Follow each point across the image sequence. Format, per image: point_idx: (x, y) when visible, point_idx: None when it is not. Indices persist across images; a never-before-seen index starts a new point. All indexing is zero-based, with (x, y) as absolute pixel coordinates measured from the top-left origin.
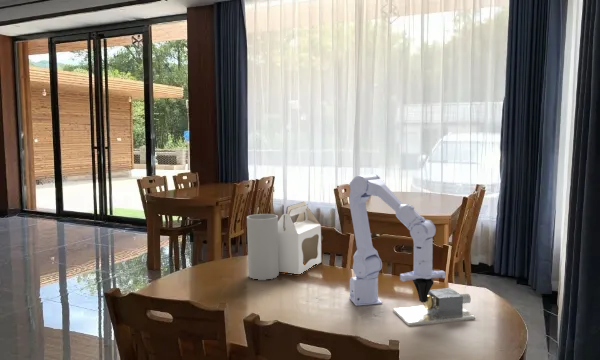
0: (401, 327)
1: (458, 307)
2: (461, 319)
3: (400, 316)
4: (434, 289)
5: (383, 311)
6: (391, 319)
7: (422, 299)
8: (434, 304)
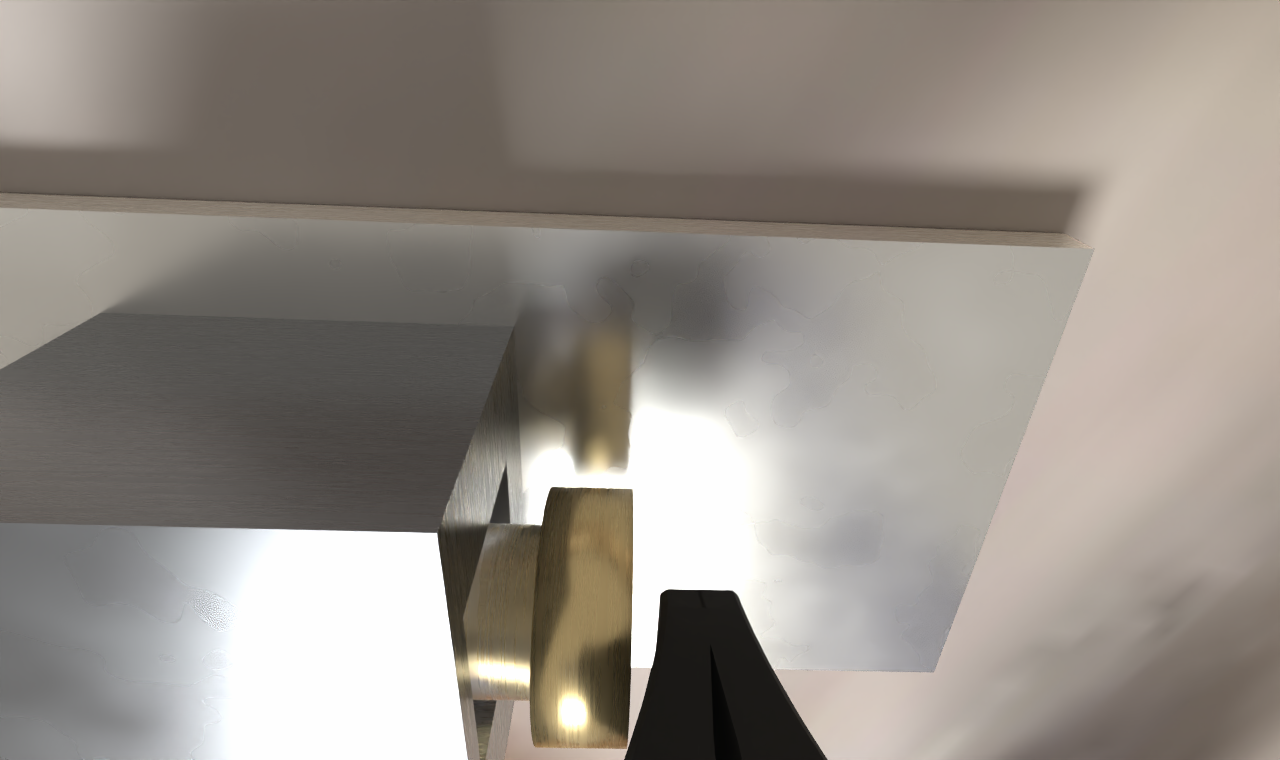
0: (1189, 215)
1: (84, 373)
2: (167, 204)
3: (992, 488)
4: None
5: (1016, 659)
6: (1101, 473)
7: (749, 630)
8: (507, 531)
